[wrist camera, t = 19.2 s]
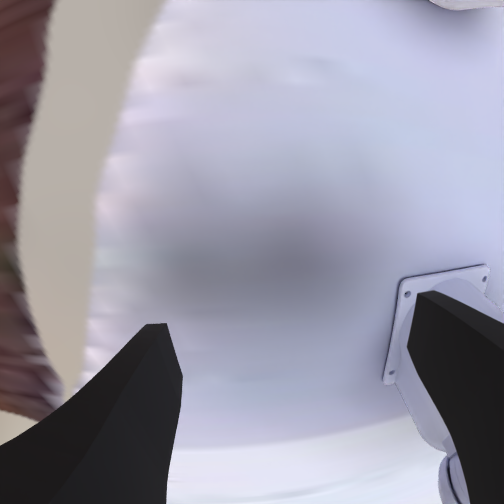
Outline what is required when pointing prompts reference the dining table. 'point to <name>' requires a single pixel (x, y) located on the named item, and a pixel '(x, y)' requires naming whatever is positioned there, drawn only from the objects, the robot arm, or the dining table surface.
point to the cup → (467, 4)
